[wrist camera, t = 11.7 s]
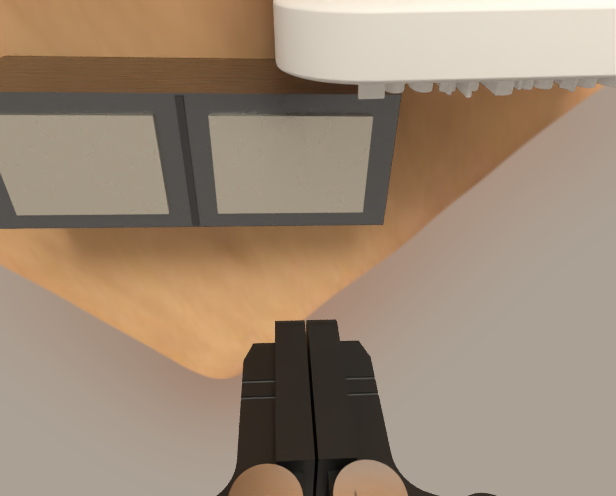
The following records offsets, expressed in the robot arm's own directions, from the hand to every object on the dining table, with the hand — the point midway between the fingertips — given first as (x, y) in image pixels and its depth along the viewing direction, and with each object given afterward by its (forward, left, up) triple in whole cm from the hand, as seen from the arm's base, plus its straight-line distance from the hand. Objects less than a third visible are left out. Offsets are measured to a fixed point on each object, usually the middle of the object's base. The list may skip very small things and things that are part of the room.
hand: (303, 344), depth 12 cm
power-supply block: (0, -4, -15) cm, 16 cm away
